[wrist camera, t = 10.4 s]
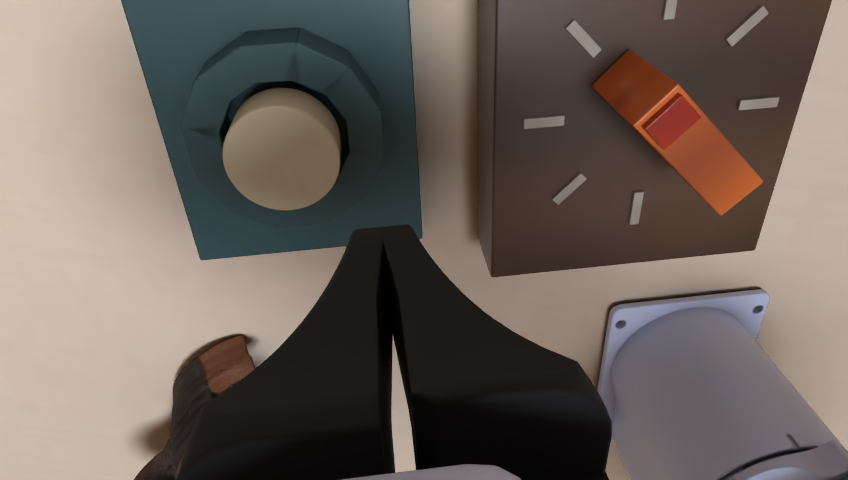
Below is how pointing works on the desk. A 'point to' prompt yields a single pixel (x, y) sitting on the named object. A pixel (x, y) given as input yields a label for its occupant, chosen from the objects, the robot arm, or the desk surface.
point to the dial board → (626, 125)
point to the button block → (283, 68)
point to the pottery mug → (197, 400)
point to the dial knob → (677, 131)
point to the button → (283, 149)
